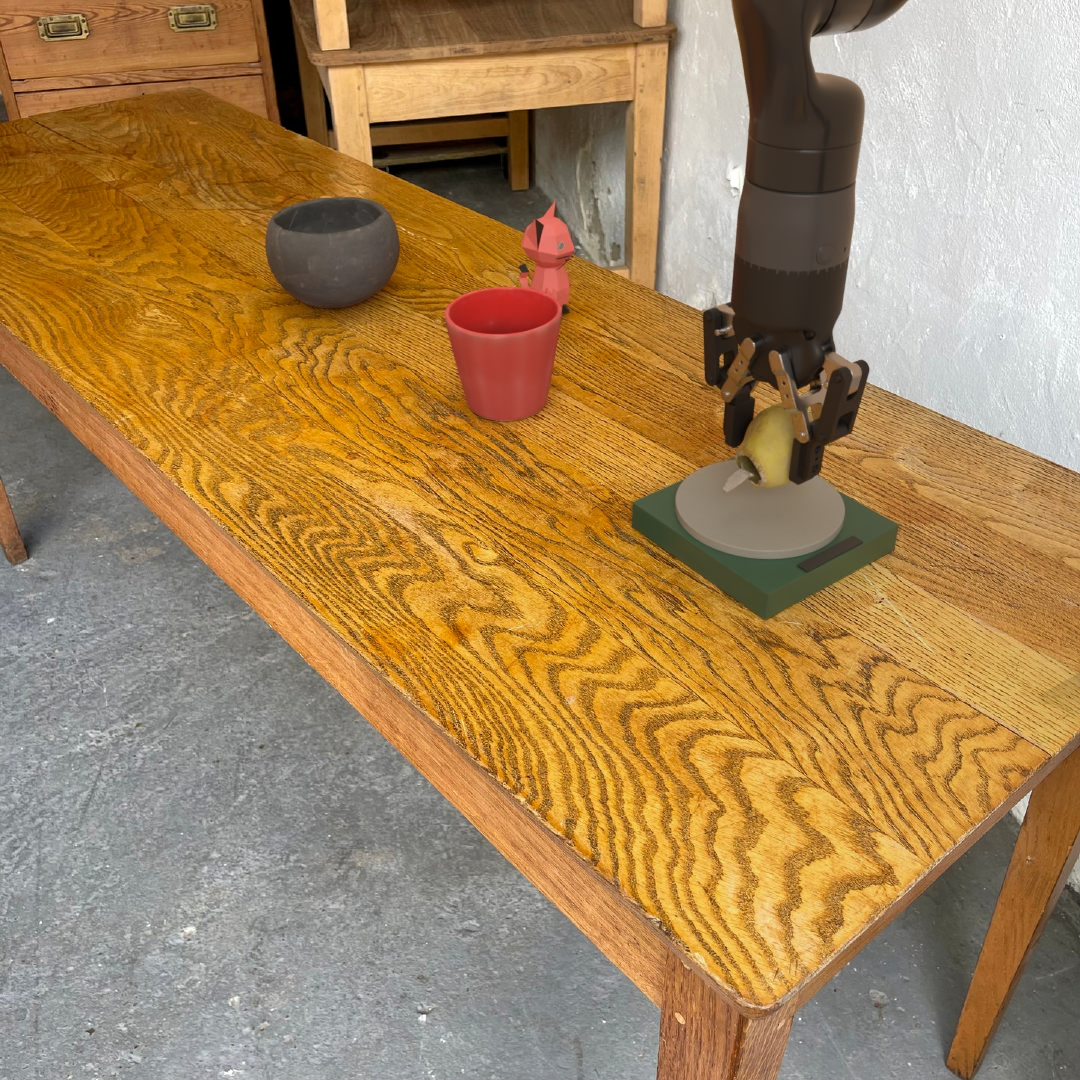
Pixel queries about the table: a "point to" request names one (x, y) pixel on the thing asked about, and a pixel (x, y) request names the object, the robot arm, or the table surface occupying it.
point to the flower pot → (504, 349)
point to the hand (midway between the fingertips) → (768, 460)
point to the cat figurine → (548, 256)
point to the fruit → (765, 450)
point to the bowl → (332, 250)
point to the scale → (763, 535)
